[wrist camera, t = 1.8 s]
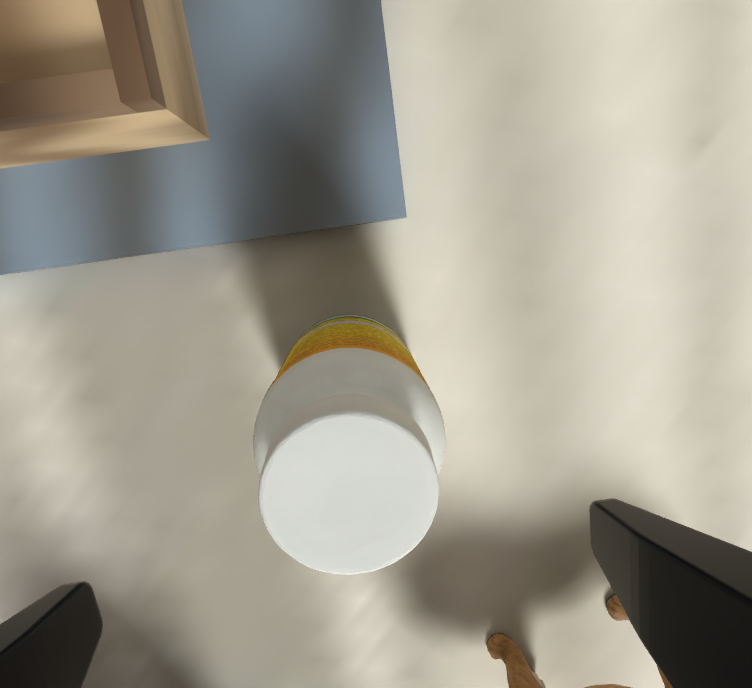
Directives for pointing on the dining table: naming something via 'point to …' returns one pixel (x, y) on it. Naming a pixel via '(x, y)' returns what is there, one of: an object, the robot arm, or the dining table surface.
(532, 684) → the lion figurine
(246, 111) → the base
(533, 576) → the dining table surface
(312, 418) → the supplement bottle
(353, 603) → the dining table surface
